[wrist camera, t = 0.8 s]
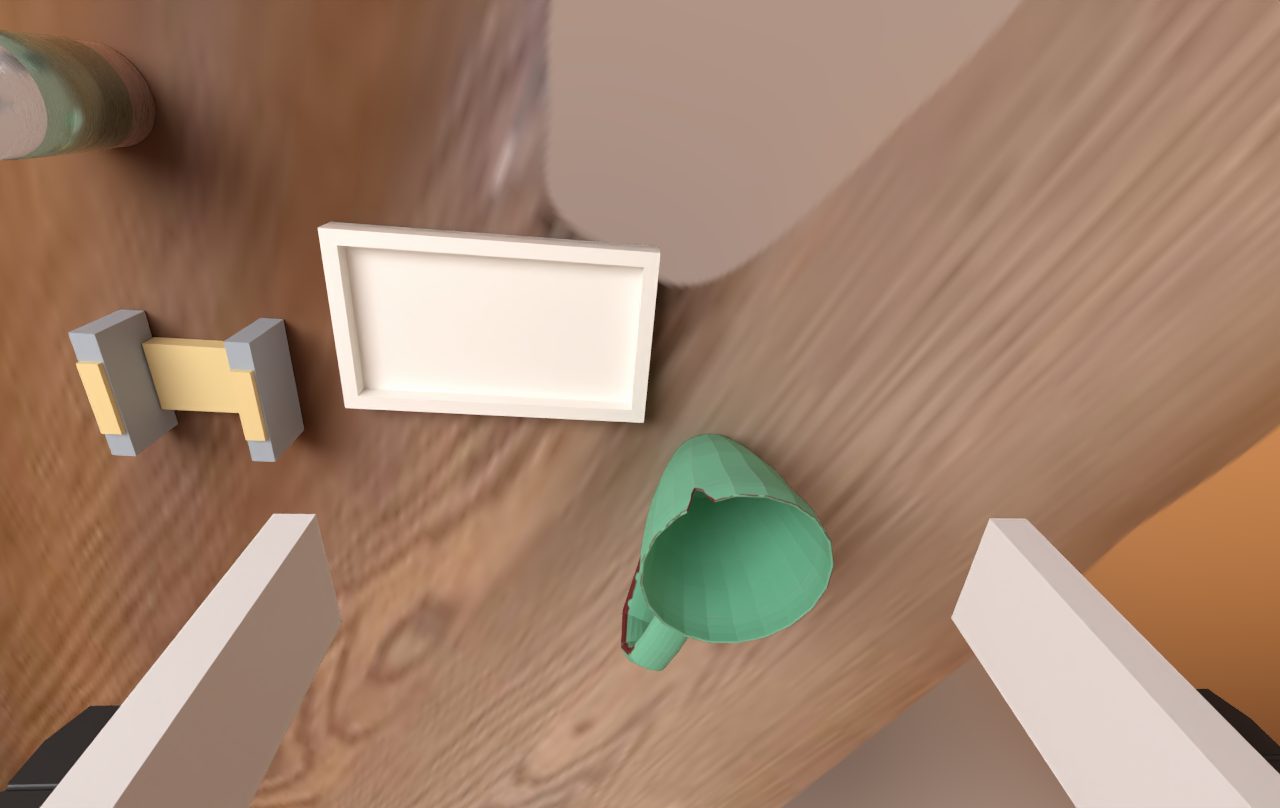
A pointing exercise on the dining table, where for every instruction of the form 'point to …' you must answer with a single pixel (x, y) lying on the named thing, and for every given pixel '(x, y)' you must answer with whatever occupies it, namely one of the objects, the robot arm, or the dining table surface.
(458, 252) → the tray
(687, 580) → the mug
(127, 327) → the cradle
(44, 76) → the cell
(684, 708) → the dining table surface
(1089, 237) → the dining table surface
